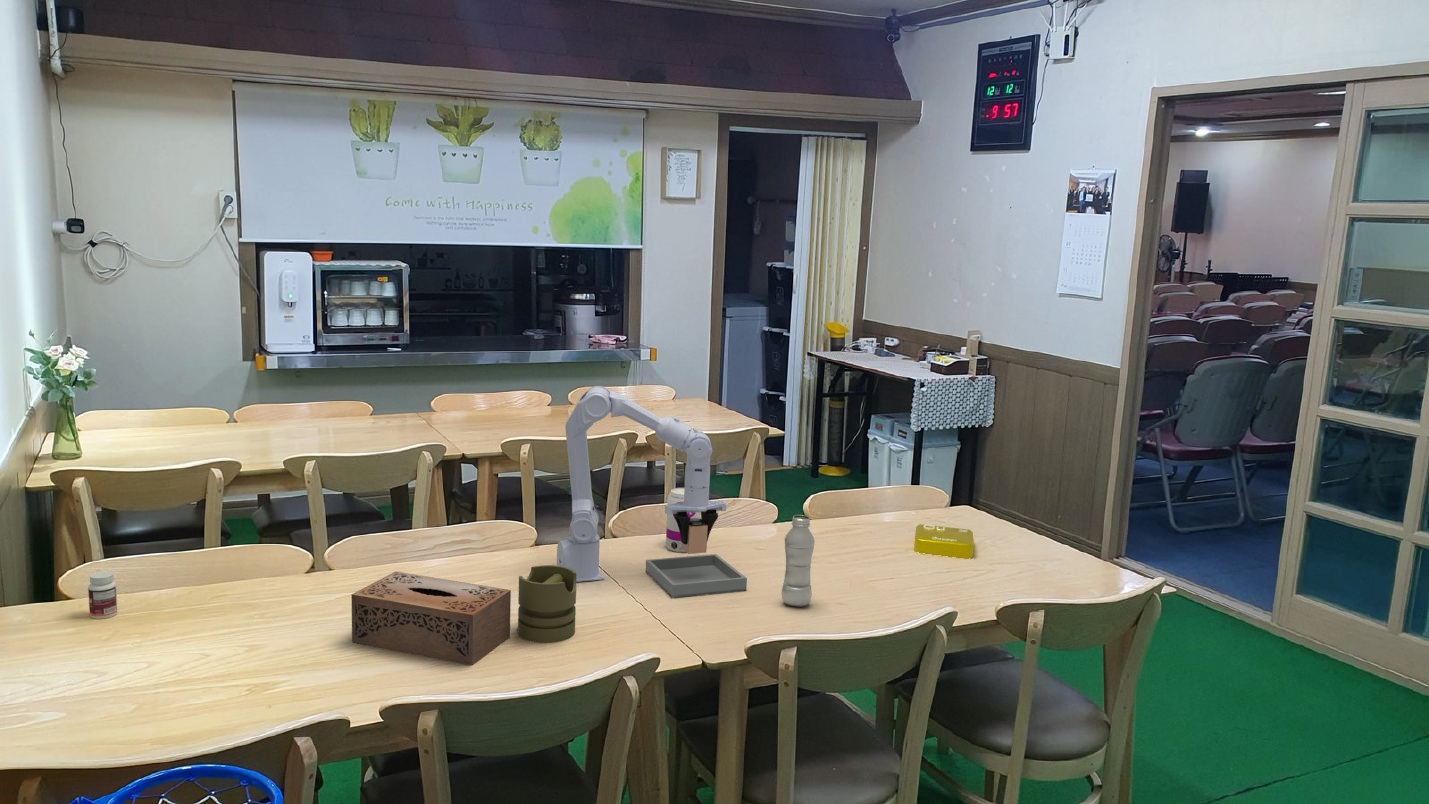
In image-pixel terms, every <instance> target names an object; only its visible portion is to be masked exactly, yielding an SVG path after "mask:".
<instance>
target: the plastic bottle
mask: <svg viewBox="0 0 1429 804" xmlns="http://www.w3.org/2000/svg"><path fill="white" fill-rule="evenodd" d="M810 522H811V517H810V516H809V515H805V514H804V515H803V514H795V515H793V516H792V522H791V525H792V527H791V529H789V531H788V532H786V533H787V534H785V536H784V537H785V538H784V550H785V571H784V578H783V583H782V586H781V599H782V601H783V603H785V605H788V606H791V607H798V608H799V607H805V606H808V605H809V603H810V602H811V600H812V596H813V591H812V584H811V568H812V567H811V566H812V559H813V558H812V557H813V554H814V553H813V552H814V548H815V542H816V541H815V537H814V535H813V533H812V531H810V529H809V527H811V523H810Z"/></svg>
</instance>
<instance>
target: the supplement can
mask: <svg viewBox="0 0 1429 804" xmlns="http://www.w3.org/2000/svg"><path fill="white" fill-rule="evenodd" d="M684 488H685V487H676V488H672V489H670V492H669V493H668V495H667V504H666V505H668V504H675V503H680V502H684ZM687 514H688V517H689V518H699V519H700V518H701V517H700V516H701V512H692V513H687ZM665 534H666V536H665V547H667V549H668V550H669V551H671V552H675V553H687V552H686V551H684V550H683V549H682V542H681V536H680V531H679V527H678V524H677V522H676V520H675V517H674V515H673V514H672V515H667V514H666V533H665Z"/></svg>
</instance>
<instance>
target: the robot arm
mask: <svg viewBox="0 0 1429 804" xmlns="http://www.w3.org/2000/svg"><path fill="white" fill-rule="evenodd" d="M609 413H611V414H610V418H615V417H616V418H618V417H626V418H628V419H630V420H632V421H634V422H636V423H638V424H639V425H642V426H644V427H646V428H649V429H651V430H653V431H654V432H655V436H656V439H658V440H659V441H661V442H663V443H665V444H667V445H668V446H670V447H672V448H674V449H676V450H677V451H680V452H685V453H686V463H685V471H684V487H683V488H684V502H680V503H675V504H668V503H667V504H668V505H667V504H665V505H664V513H665V514H666V516H667V515H672V514H673V515H674V517H675V520H676V522H677V524H678V527H679V531H680V536H681V542H682V543H683V544H687V542H688V528H689V522H690V518H689V517H688V514H687V513H692V512H700V516H701V517H700V519H702V520H704V523H705V524H706V525H707V526H708V529H707V542H708V540H709V537H710V534H711V532H712V528H713V527H714V525H715V523H716V522H717V520H718V519H719V513H718V512H719V511H721V512H727V502H725V501H724V500H710V482H711V481H710V480H711V478H710V477H711V466H710V465H711V456H712V454H713V446H712V442H711V440H710V438H709V436H708V435H707V434H705V433H704V432H703V431H702V430H701V431H700V430H698V428H696V427H693V428H691V427H690V426H688V425H686V424H684V423H682V422H681V421H680V418H679V417H677V416H674V417H671V416H666V417H660V416H659V415H656V414H655V413H653V412H651V411H650V410H647V409H646V408H644V407H643V406H641V405H639V404H638V403H636V402H635V401H633V400H632V399H629V398H628V397H625V396H624V395H622V394H620V393H618V392H616V391H613V390H610V391H609V389H607V388H606V387H605V386H602V385H595V386H592V387H590V388H588V390H586V391H585V392H584V393H583V394H581V396H580V397H579V399H578V401H577V403H576V404H575V407H574V408H573V410H572V411H571V413H570V415H569V417H568V419H567V420H566V422H565V426H564V429H565V438H566V448H567V459H568V470H569V481H570V490H571V500H572V501H571V509H572V510H571V522H570V524H569V529H568V530H569V531H568V532H569V534H568V538H567V539H563V540H559V541H557V542H558V543H557V548H556V566H562V567H567V568H570V569H572V570H574V571H575V572H576V583H577V582H578V583H580V582H590V581H601V580H604V579H605V577H604V575H603V574H602V573H601V572H600V571H599V570H600V569H599V567H600V541H601V540H600V539H601V537H600V535H599V534H598V526H599V523H600V516H599V513H598V511H597V510H596V508H595V503H594V499H593V492H592V480H591V469H590V456H589V446H588V435H587V432H588V431H589V429H591V427H592V426H593V425H594V424H595V423H597V422H598V421H601V420H602V419H604V418H606V417H607V416H608V415H609Z"/></svg>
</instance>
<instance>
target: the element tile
mask: <svg viewBox="0 0 1429 804" xmlns="http://www.w3.org/2000/svg"><path fill="white" fill-rule="evenodd" d="M914 534H915V535H914V543H913V546H914V548H913V552H914V551H915V552H919V553H925V554H932V555H931V556H934V555H941V556H940V557H943V556H948V557H947V558H952V557H956V558H955V559H960V558H964V559H963V560H970V559H969V558H971V559H973V555H974V547H975V546H974V545H975V543H974V532H973V531H972V530H971V529H967V528H959V527H949V526H940V525H933V524H918V525H916V526H915V533H914ZM915 552H914V553H915ZM925 554H924V555H925Z"/></svg>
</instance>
